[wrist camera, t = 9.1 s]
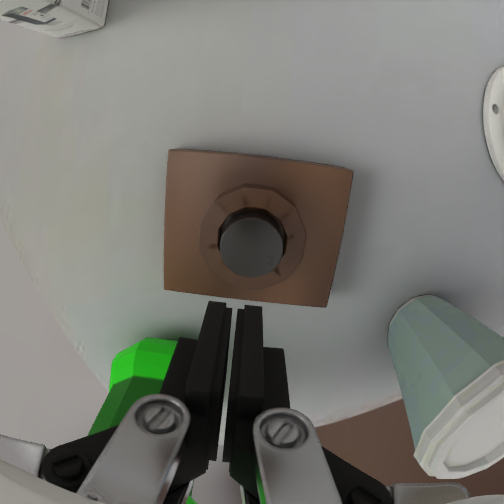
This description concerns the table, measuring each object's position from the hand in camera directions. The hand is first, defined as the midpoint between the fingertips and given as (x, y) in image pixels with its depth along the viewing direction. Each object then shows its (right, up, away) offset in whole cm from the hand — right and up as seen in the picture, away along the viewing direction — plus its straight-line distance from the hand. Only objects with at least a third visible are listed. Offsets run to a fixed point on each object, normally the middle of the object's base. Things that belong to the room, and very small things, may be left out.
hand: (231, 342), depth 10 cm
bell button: (+1, +4, +10) cm, 10 cm away
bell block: (+1, +5, +13) cm, 14 cm away
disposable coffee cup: (+16, -3, +16) cm, 23 cm away
